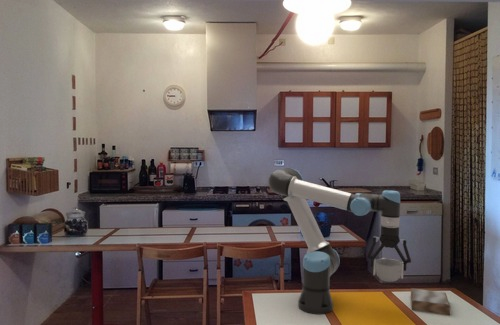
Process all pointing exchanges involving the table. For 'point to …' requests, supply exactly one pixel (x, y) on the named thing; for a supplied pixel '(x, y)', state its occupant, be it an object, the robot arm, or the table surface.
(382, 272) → the teacup
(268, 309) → the table surface
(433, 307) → the walnut riser
